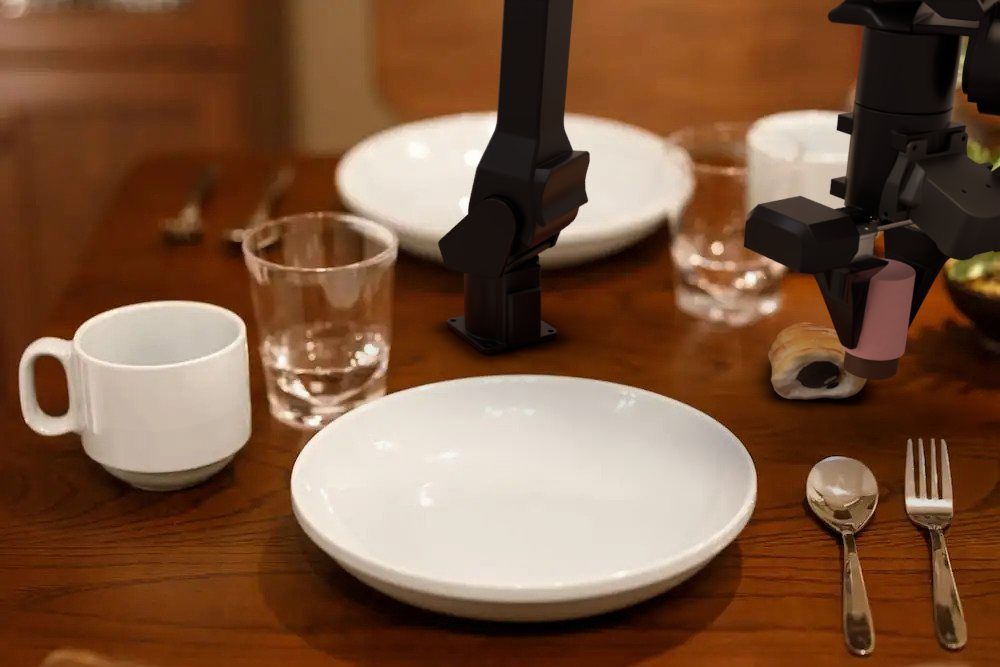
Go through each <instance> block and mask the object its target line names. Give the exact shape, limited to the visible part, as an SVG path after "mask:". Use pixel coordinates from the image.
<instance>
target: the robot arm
mask: <svg viewBox="0 0 1000 667" xmlns="http://www.w3.org/2000/svg"><path fill="white" fill-rule="evenodd" d="M574 1H575V0H503V4H502V5H503V6H502V21H501V38H500V39H501V40H500V56H499V57H500V58H499V74H498V89H497V90H498V92H497V95H498V96H497V108H496V124H495V128H494V129H493V133H492V134H491V137H490V139H489V141H488V143H487V145H486V147H485V149H484V150H483V153H482V156H480V159H479V161H478V164H477V166H476V168H475V173H474V178H473V182H472V185H471V186H472V187H471V191H470V196H469V200H468V204H467V205H468V206H467V214H466V215H465V216H464V217H463V218H462V219H461V220H460V221H459V222H458V223H457V224H455V225H454V226H453V227H452V228H451V229H450V230H449V231H448V232H447V233H446V234H444V235H443V236H442V237H441V238H440V239H439V240H438V242H437V246H438V249H439V253H440V255H441V258H442V262H443V264H444V267H445V268H446V269H447V270H450V271H455V272H459V273H463V315H460V316H455V317H450V318H447V319H446V327H447V328H449V329H450V330H451V331H453V332H454V333H455V334H457V335H458V336H460V337H461V339H464V340H465V341H466V342H467V343H468V344H470V345H471V346H473V347H474V348H475V349H476V350H478V351H479V352H481V353H483V354H486V355H489V354H494V353H495V354H496V353H499V352H503V351H507V350H511V349H515V348H519V347H523V346H527V345H532V344H536V343H540V342H544V341H548V340H553V339H556V338H558V330H557V329H556V328H554V327H553V326H551V325H550V324H548V323H546V321H543V320H542V287H541V286H542V285H541V282H542V281H541V280H542V276H541V275H542V265H541V264H540V255H539V254H541V253H543V252H545V251H547V250H548V249H552V248H553V247H555V246H557V242H558V240H559V237H560V236H561V235H560V234H561V232H562V231H563V230H565V229H566V228H567V227H569V226H570V225H571V224H572V223H573V222H574V221H575V220H576V218H577V216H578V214H579V211H580V207H582V206H584V205H585V204H587V203H589V198H588V193H587V188H586V186H587V185H586V179H587V174H588V170H589V166H590V162H591V154H590V152H589V151H588V150H577V149H575V150H574V149H573V146H572V144H571V141H570V139H569V137H568V134H567V132H566V127H565V112H566V99H567V88H568V74H569V63H570V50H571V38H572V26H573V25H572V24H573V11H574ZM826 16H827V20H828V22H829V23H832V24H839V25H850V26H860V27H862V30H861V38H860V49H859V57H858V66H857V73H856V74H857V75H856V84H855V93H854V100H853V109H852V111H851V112H850V111H849V112H844V113H839V114H837V122H836V132H837V131H838V132H839V133H843V134H847V135H849V142H848V143H849V144H848V153H847V163H846V170H845V175H843V176H839V177H834V178H830V185H829V196H830V195H831V196H833V197H836V198H837V199H841V200H844V202H843V206H842V207H837V208H833V207H830V206H827V205H825V204H823V203H821V202H817V201H815V200H812V199H810V198H807V197H805V196H803V195H796V196H792V197H787V198H782V199H781V198H780V199H777V200H772V201H767V202H761V203H758V204H757V205H755V206H754V207H753V208H752V209H751V210H750V211H749V212H747V214H746V219H745V226H744V237H743V248H745V249H747V250H750V251H752V252H754V253H756V254H758V255H760V256H762V257H764V258H766V259H768V260H771V261H773V262H775V263H778V264H780V265H782V266H783V267H786V268H788V269H790V270H792V271H795V272H796V273H799V274H805V275H806V274H807V275H812V276H813V278H814V280H815V282H816V285H817V286H818V289H819V291H820V294H821V296H822V299H823V302H824V304H825V306H826V309H827V312H828V315H829V317H830V320H831V322H832V325H833V327H834V328H833V329H835V331H836V333H837V336H838V339H839V341H840V343H841V345H842V346H844V347H846V348H848V349H850V350H852V349H856V347H857V345H858V341H859V338H860V334H861V331H862V326H863V320H864V314H865V308H866V303H867V297H868V291H869V285H870V280H871V278H872V277H873V276H875V275H876V274H877V273H878V272H880V271H881V270H882V269H883V268H885V267H886V266H887V265H888V264H889V261H886V260H884V259H890V260H895V261H899V262H902V263H905V264H907V265H909V266H911V267H912V268H913V269H914V270H915V273H916V274H915V281H914V288H913V295H912V303H911V310H910V317H909V324H908V331H910V330H909V329H910V328H911V326H912V324H913V322H914V320H915V319H916V316H917V314H918V312H919V310H920V309H921V307H922V305H923V303H924V301H925V299H926V297H927V295H928V293H929V292H930V290H931V288H932V287H933V284H934V282H935V281H936V279H937V278H938V276H939V274H940V273H941V271H942V270H943V268H944V266H945V265H946V263H947V262H948V261H949V260H951V259H952V260H957V261H967V260H971V259H973V258H974V257H975V256H978V255H982V254H987V253H991V252H994V253H999V252H1000V165H999V166H997V167H996V168H994V164H993V163H992V162H991V161H986V162H982V163H978V162H976V161H975V160H974V159H972V158H970V157H969V156H968V143H969V142H968V141H969V134H968V133H967V132H966V128H967V125H965V124H963V123H959V122H957V121H953V120H952V117H953V111H954V105H955V96H956V89H957V83H958V77H959V76H958V75H959V70H960V63H961V55H962V49H963V41H964V37H968V39H967V45H966V50H965V54H964V59H963V65H962V70H961V72H962V73H961V91H962V93H963V95H966V100H967V103H973V104H976V109H977V112H978V114H980V115H986V116H993V117H994V116H995V117H1000V0H842V2H840V3H839V4H838V5H837V6H835V7H834V8H832V9H830V10H829V11H828V12H827V15H826ZM880 232H883V250H884V251H883V253H884V258H883V259H881V257H879V256H877V255H874V251H875V244H876V237H878V234H879V233H880Z"/></svg>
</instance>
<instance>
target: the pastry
mask: <svg viewBox="0 0 1000 667" xmlns="http://www.w3.org/2000/svg"><path fill="white" fill-rule="evenodd" d="M767 355H768V360H769V362H770V365H771V378H770V382H771V384H772V386H773V389H774V391H775V392H776V393H777V395H779V396H781V397H782V398H784V399H787V400H793V399H794V400H802V401H803V400H804V401H806V400H816V399H821V398H822V399H823V398H827V399H828V398H829V399H835V400H837V399H838V400H839V399H846V398H849V397H853V396H855V395H857V394H858V393H859V392H860V391H861V390H862V389H863V388H864V386H865V384H866V383H867V381H868V379H865V378H860V377H857V376H854V375H852V374H850V373H848V372H847V371H846V370H845V369H844V356H845V350H844V349H843V348H842V345H841V343H840V341H839V339H838V336H837V333H836V331H835V328H833V327H831V326H823V325H820V324H815V323H814V322H810V321H800V322H796V323H794V324H792V325H790V326H789V327H784V328H783V329H782V330H781V331H780V332H779V333H778V334H777V336H776V338H775V340H774V341H773V342H772V344H771V347H770V349H769V351H768V354H767Z"/></svg>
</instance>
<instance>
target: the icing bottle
mask: <svg viewBox="0 0 1000 667" xmlns="http://www.w3.org/2000/svg"><path fill="white" fill-rule="evenodd" d="M880 258H881V257H880ZM881 259H884V260H886V261H889V264H888V265H887V266H886V267H885V268H883V269H882V270H881V271H880V272H878V273H877V274H876V275H875V276H873V277H872V278H871V280H870V285H869V291H868V297H867V303H866V308H865V314H864V320H863V326H862V331H861V334H860V338H859V341H858V345H857V347H856V349H852V350H850V349H848V348H846V347H844V346H842V348H843V349H844V350H845V356H844V369H845V370H846V371H847V372H848V373H850V374H852V375H854V376H857V377H860V378H865V379H867V380H871V381H872V380H874V381H875V380H876V381H877V380H879V381H880V380H887V379H890V378H893V377H895V376H896V375H897V373H898V368H899V361H900V358H901V357H902V356H903V355H904V354H905V352H906V344H907V338H908V331H909V330H908V324H909V317H910V310H911V303H912V295H913V288H914V281H915V274H916V273H915V270H914V269H913V268H912V267H911V266H909V265H907V264H905V263H902V262H899V261H895V260H890V259H885V258H883V257H882V258H881Z"/></svg>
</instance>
